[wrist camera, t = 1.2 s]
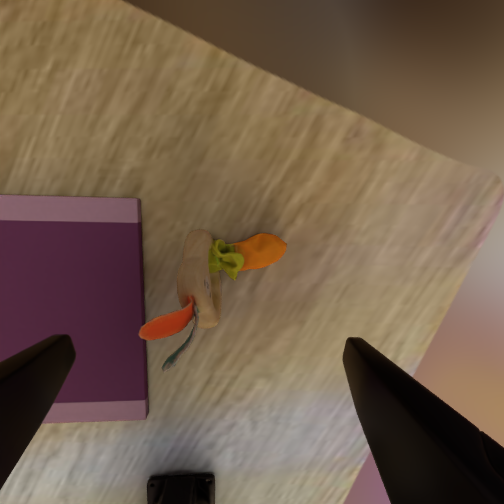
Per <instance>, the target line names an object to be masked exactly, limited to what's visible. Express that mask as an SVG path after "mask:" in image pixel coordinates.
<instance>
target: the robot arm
mask: <svg viewBox="0 0 504 504" xmlns="http://www.w3.org/2000/svg"><path fill="white" fill-rule="evenodd" d="M75 359H76V351H75V348H74V345H73V342H72V339H71V337H70V336H69V335H68V334H54V335H51V336H49V337H48V338H46V339H44V340H42V341H40V342H38V343H36V344H34V345H32V346H30V347H28V348H26V349H24V350H22V351H20V352H19V353H17V354H15V355H13V356H11V357H9V358H7V359H5V360H3V361H1V362H0V490H1V488H2V486H3V485H4V483H5V482H6V480H7V478H8V477H9V475H10V474H11V472H12V470H13V469H14V467H15V465H16V464H17V462H18V461H19V459H20V457H21V456H22V454H23V453H24V451H25V449H26V448H27V446H28V445H29V443H30V441H31V440H32V438H33V437H34V435H35V433H36V432H37V430H38V429H39V427H40V425H41V424H42V422H43V421H44V419H45V417H46V416H47V414H48V412H49V411H50V409H51V407H52V405H53V403H54V401H55V399H56V397H57V395H58V393H59V392H60V390H61V388H62V386H63V384H64V382H65V380H66V378H67V376H68V374H69V372H70V370H71V368H72V366H73V364H74V362H75ZM343 364H344V368H345V372H346V376H347V379H348V383H349V387H350V390H351V394H352V398H353V402H354V405H355V409H356V412H357V415H358V418H359V420H360V423H361V426H362V428H363V431H364V434H365V436H366V439H367V442H368V444H369V447H370V449H371V452H372V455H373V457H374V460H375V463H376V465H377V468H378V471H379V473H380V476H381V479H382V481H383V484H384V487H385V489H386V492H387V495H388V497H389V500H390V502H391V504H504V448H503V447H502V446H501V445H500V444H498V443H497V442H496V441H494V440H493V439H492V438H491V437H489V436H488V435H487V434H485V433H484V432H483V431H480V430H479V429H478V428H477V427H476V426H475V425H474V424H472V423H471V422H470V421H468V420H467V419H466V418H464V417H463V416H462V415H461V414H459V413H458V412H457V411H455V410H454V409H453V408H452V407H450V406H449V405H448V404H446V403H445V402H444V401H442V400H441V399H440V398H439V397H437V396H436V395H435V394H433V393H432V392H431V391H429V390H428V389H427V388H426V387H424V386H423V385H421V384H420V383H419V382H418V381H416V380H415V379H414V378H413V377H411V376H410V375H409V374H407V373H406V372H405V371H404V370H402V369H401V368H400V367H398V366H397V365H396V364H394V363H393V362H392V361H391V360H389V359H388V358H387V357H385V356H384V355H383V354H381V353H380V352H379V351H378V350H376V349H375V348H374V347H372V346H371V345H370V344H368V343H367V342H366V341H365V340H363V339H362V338H359V337H349V338H347V340H346V344H345V348H344V353H343ZM147 501H148V504H215V476H214V475H213V474H193V475H173V476H154V477H151V478H149V480H148V483H147Z"/></svg>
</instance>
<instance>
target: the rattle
mask: <svg viewBox="0 0 504 504" xmlns="http://www.w3.org/2000/svg"><path fill="white" fill-rule="evenodd" d="M286 245H287V244H286V243H285V242H284V241H282V240H281V239H280V238H279V237H278V236H276V235H273V234H267V233H261V234H257V235H254V236H252V237H250V238H248V239H247V240H246V241H242V242H237V243H233V244H225V243H224V241H222V240H220V239H218V240H216V241H215V240H214V239H212V237H211V235H210V233H209V232H208V231H206V230H194V231H191V232H190V233H189V234H188V236H187V238H186V240H185V244H184V251H183V262H182V264H181V266H180V268H179V270H178V275H177V292H178V298H179V302H180V305H181V307H182V309H180V310H176V311H173V312H170V313H168V314H164V315H160V316H158V317H156V318H154V319H152V320H150V321H148V322H147V323H146V324H144V325H143V326H141V329H140V331H139V334H138V335H139V336H140V338H142V339H145V340H155V339H160V338H166V337H168V336H171V335H173V334H175V333H178V332H180V331H181V330H183V328H185V327H186V326H187V324H188V323H189V322H190V321H191V320H192V321H193V323H194V327H193V329H192V331H191V333H190V335H189V337H188V338H187V340H186V341H185V343H184V344H183V345H182V346H181V347H180V348H179V349H177V350H176V351H175V352H174V353H173V354H172V355H171V356H170V357H168V358H167V360H166V361H165V363H164V364H163V366H162V369H163V371H164V372H166V371H168V370H170V369H171V368H172V367H173V366H175V365H176V363H177V361H178V360H179V359H180V357H181V356H182V355H183V354H184V352H186V350H187V349H188V348H189V347H190V345H191V343H192V341H193V339H194V337H195V333H196V330H197V327H199V328H211V327H214V326H216V325H217V323H218V322H219V319H220V314H221V295H222V288H221V280H220V272H219V270H222V269H224V270H225V272H226V273H227V274H228V276H229V277H230V278H232V279H233V280H235V279H236V278H237V273H238V271H243V270H247V269H259V268H262V267H265V266H267V265H270V264H272V263H274V262H276V261H278V260H279V259H280V258H281V257H282V255H283V254H284V253H285V251H286Z"/></svg>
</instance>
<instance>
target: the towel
mask: <svg viewBox="0 0 504 504" xmlns="http://www.w3.org/2000/svg"><path fill="white" fill-rule="evenodd" d="M144 324H145V307H144V281H143V256H142V230H141V204H140V199H137V198H108V197H70V196H33V195H0V362H1V361H3V360H5V359H7V358H9V357H11V356H13V355H15V354H17V353H19V352H20V351H22V350H24V349H26V348H28V347H30V346H32V345H34V344H36V343H38V342H40V341H42V340H44V339H46V338H48V337H49V336H51V335H54V334H68V335H69V336H70V337H71V339H72V342H73V345H74V348H75V351H76V359H75V362H74V364H73V366H72V368H71V370H70V372H69V374H68V376H67V378H66V380H65V382H64V384H63V386H62V388H61V390H60V392H59V393H58V395H57V397H56V399H55V401H54V403H53V405H52V407H51V409H50V411H49V412H48V414H47V416H46V417H45V419H44V421H43V422H42V423H70V422H98V421H126V420H146V418H147V416H148V413H149V408H148V384H147V358H146V340H145V339H142V338H140V336H139V335H138V334H139V331H140V329H141V326H143V325H144Z"/></svg>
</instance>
